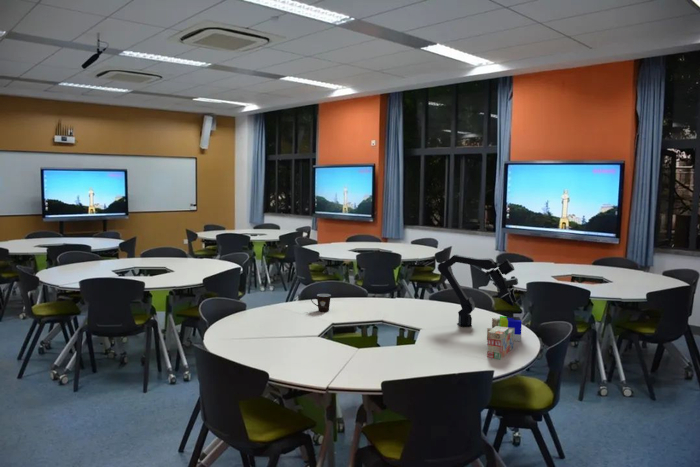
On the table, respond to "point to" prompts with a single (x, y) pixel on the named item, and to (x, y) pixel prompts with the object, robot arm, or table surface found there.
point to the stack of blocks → (499, 342)
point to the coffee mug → (323, 302)
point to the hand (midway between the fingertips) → (514, 304)
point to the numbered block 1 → (495, 322)
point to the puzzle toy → (512, 325)
